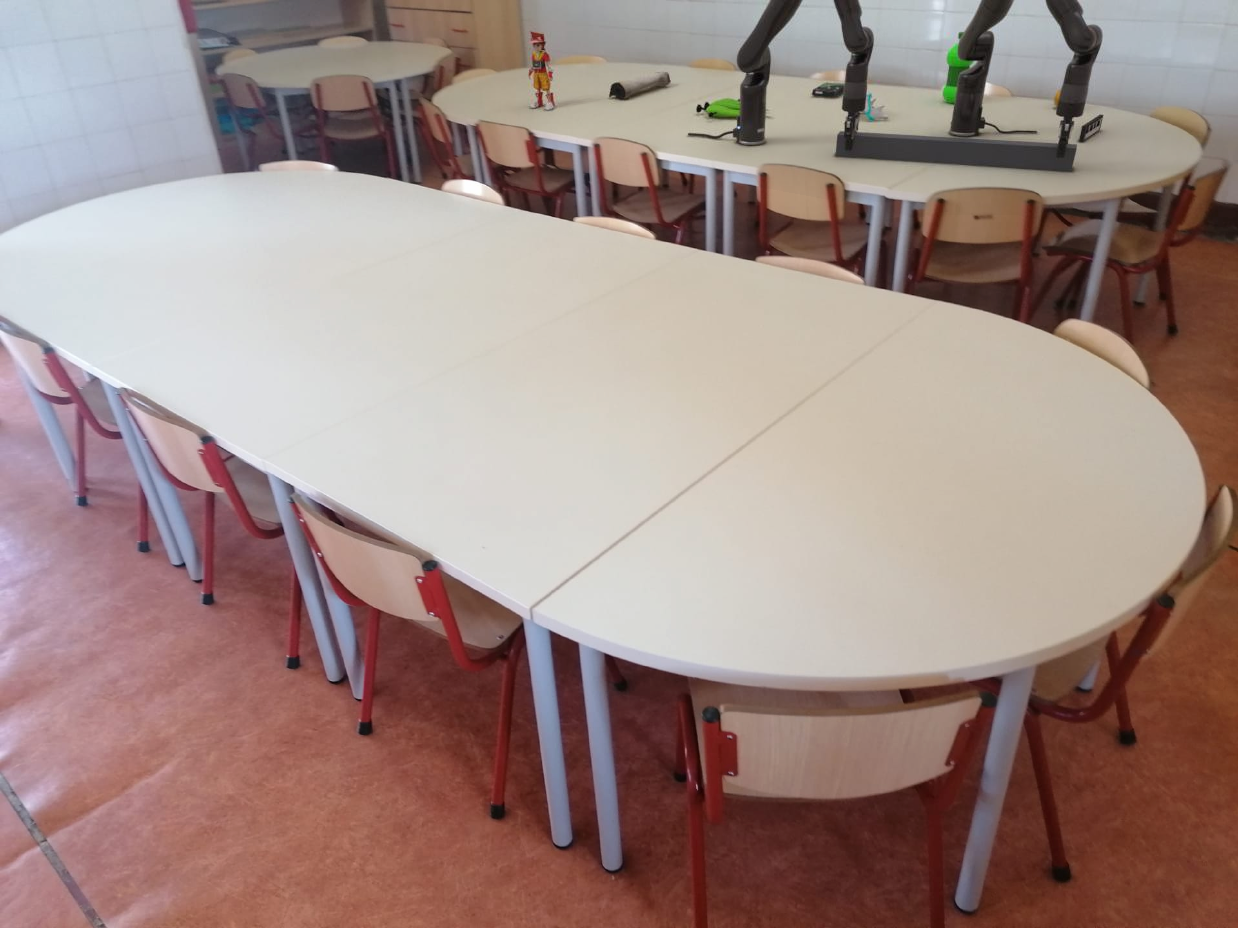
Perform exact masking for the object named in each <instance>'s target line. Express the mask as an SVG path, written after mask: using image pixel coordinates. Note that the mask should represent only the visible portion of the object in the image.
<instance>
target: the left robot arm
mask: <svg viewBox="0 0 1238 928" xmlns="http://www.w3.org/2000/svg"><path fill="white" fill-rule="evenodd" d="M832 1H833V4H834V8H835V10H836V13H837V15H838V18H839V21H840V26H841V34H842V39H843V43H844V46H845V48H846V49H847V51H848V52H849V53H850V54H851V55H850V59H849V61H848V62H847V64H846V67H845V79H844V83H843V84H844V90H843V93H842V103H841V110H842V111H843V112H846V113H847V115H846V116H845V119H844V128H843V129H844V130H843V131H844V138H845V139H846V142H845V150H849V151H850V150H851V149H852V142H853V135H854V132H859V126H860V125H859V124H860V120H861V119H860V118H861V113H862V112H861V111H864V110H865V105H866V95H867V91H868V76H869V64H870V61H871V59H872V54H873V49H874V44H875V35H874V31H873V30H872V29H871V28H870V27H868V26H863V24H862V20H861V17H862V16H863V10H862V6H861V3H860V1H859V0H832ZM802 3H803V0H769V1H768V3H767V5H766V7H765V9H764V10H763V12H762V13H761V15H760V17H759V19H758V21H757V23H756V24H755V26H754V28H753V30H752V31H751V32H750V34H749V36H748V37H747V38H746V40H745V41H744V42H743V44H742V45H741V47H740V48H739V50H738V51H737V55H736V65H737V67H738V70H740V72H742V73H744V74H745V75H744V78H743V80H742V82H741V83H740V86H739V99H740V114H739V115H737V117H736V127H734V128H733V129H732V130H729V131H724V132H722V133H721V134H719V135H712V134H707V133H699V132H696V133H695V132H688V133H687V136H689V137H691V136H692V137H702V138H703V137H704V138H709V139H715V140H717V139H721V138H723V137H724V136H727V135H732V138H736V143H738V144H740V145H743V146H759V145H763V144H765V142H766V118H767V117H766V116H767V115H766V114H767V111H766V109H767V92H768V91H767V89H768V85H769V82H770V76H771V65H772V64H771V62H772V53H771V49H770V46H769V45H771V43H772V41H773V40H774V39H775V38H776V36H777V35H778V34H779V33H781V31H782V30H784V28H785V27H786V26H787V25H788V24H789V23H790V22H791V20H792V19H793V18H794V16H795V14H796V13H797V11H798V10H799V8H800V6H801V4H802ZM848 132H850V135H848Z"/></svg>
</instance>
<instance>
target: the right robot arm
mask: <svg viewBox="0 0 1238 928" xmlns="http://www.w3.org/2000/svg"><path fill="white" fill-rule="evenodd" d="M1014 1H1015V0H980V2H979V4H978V7H977V9H976V11H975V13H974V15H973V17H972V19H971V20H970V22H969V23H968V25H967V26H966V28H965V30H964V31H963V32H964V33H963V34H962V36H961V38H960V41H959V40H958V43H959V44H958V48H957V55H958V58H959V59H960V60H962V61H973V62H976V63H975V64H974V65H972V66H970V68H969V69H967V70H965V71H962V72H961V73H960V74H959V77H958V83H957V90H956V96H955V103H953V110H952V115H951V121H950V129H949V134H950V135H952V136H954V137H955V136H956V137H973V136H979V131H980V130H981V129H982V130H983V129H985V126H988V127H992V128H994V129H995V130H996V131H997V132H998V133H1000V134H1015V133H1022V134H1023V133H1025V134H1028V133H1029V134H1032V133H1033V134H1037V133H1038V130H1009V131H1007V130H1005V131H1004V130H1001V129H1000V128H999V127H998V126H997V125H995V124H993V123H989V122H986V118H985V116H982V115H983V109H984V107H983V102H984V96H985V90H986V83H987V79H988V75H989V72H990V66H991V61H992V56H993V53H994V49H995V48H994V47H995V34H994V32H993V31H992V30H990V29H992V28H994V27H995V26H996V25H998V24H1000V23H1001V22H1002V21H1003V20H1004V19H1005V18H1006V17H1007V15H1008V13H1009V12H1010V10H1011V8H1012V6H1013V4H1014ZM1045 4H1046V7H1047V10H1048V11H1049V13H1050V14H1051V16H1052V17H1053V19H1054V21H1055V22H1056V23H1057V25H1058V26H1059V28H1060V31H1061V34H1062V36H1063V39H1064V41H1065V43H1066V45H1067V47H1068V49H1070V51H1072V52H1073V56H1072V58H1071V60H1070V61H1069V62H1068V64H1067V65H1066V69H1065V73H1064V78H1063V82H1062V86H1061V89H1060V90H1061V91H1060V96H1059V101H1058V105H1057V106H1056V109H1055V110H1056V111H1055V115H1056V116H1058V117H1061V118H1062V119H1061V120H1060V122H1059V127H1058V129H1059V130H1058V136H1057V137H1058V138H1059V139H1058V142H1057V143H1058V145H1059V146H1058V150H1057V155H1056V157H1057V158H1063V157H1064V155H1065V150H1066V146H1067V144H1069V140H1070V139H1071V137H1072V132H1073V129H1074V127H1075V120H1073V119H1074V118H1079V117H1082V116H1083V114H1084V111H1085V107H1086V102H1087V99H1088V93H1089V86H1090V82H1091V81H1090V80H1091V77H1092V72H1093V67H1094V64H1095V62H1096V60H1097V58H1098V55H1099V52H1100V49H1101V46H1102V43H1103V38H1104V35H1103V30H1102V27H1100V26H1099V25H1098V24H1092V23H1091V24H1087V23H1086V21H1085V19H1084V9H1083V6H1082V5H1081V4H1080V2H1079V0H1045Z"/></svg>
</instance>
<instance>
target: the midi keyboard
mask: <svg viewBox="0 0 1238 928" xmlns="http://www.w3.org/2000/svg"><path fill="white" fill-rule="evenodd" d="M1103 119H1104V114H1101V113H1100V114H1099V115H1097V116H1095V117H1094V118H1092V119H1091V120H1089V121H1087V122H1086V123H1085V124H1083V125H1082V126H1081V129H1080V134H1079V138H1078V142H1084V141H1085V140H1086V139H1087V138H1089V137H1090V136H1092V135H1093V134H1095V133H1096V132H1098V131H1099V130H1101V127H1102V123H1103Z"/></svg>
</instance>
